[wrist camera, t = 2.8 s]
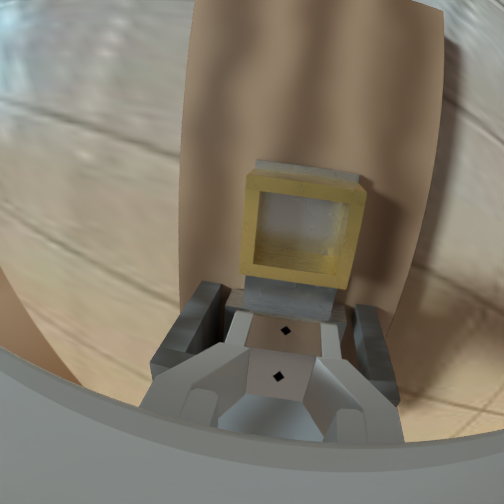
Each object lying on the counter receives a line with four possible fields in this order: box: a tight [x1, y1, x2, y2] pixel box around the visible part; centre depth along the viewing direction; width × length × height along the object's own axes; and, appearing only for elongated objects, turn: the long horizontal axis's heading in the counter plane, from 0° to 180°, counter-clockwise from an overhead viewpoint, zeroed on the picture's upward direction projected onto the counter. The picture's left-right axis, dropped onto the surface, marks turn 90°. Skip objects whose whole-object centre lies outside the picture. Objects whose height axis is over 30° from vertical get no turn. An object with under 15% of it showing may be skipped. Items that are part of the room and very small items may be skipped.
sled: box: [223, 159, 367, 344], centre depth 24 cm, size 9×32×4 cm, turn 175°
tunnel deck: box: [150, 0, 444, 442], centre depth 22 cm, size 18×54×14 cm, turn 175°
